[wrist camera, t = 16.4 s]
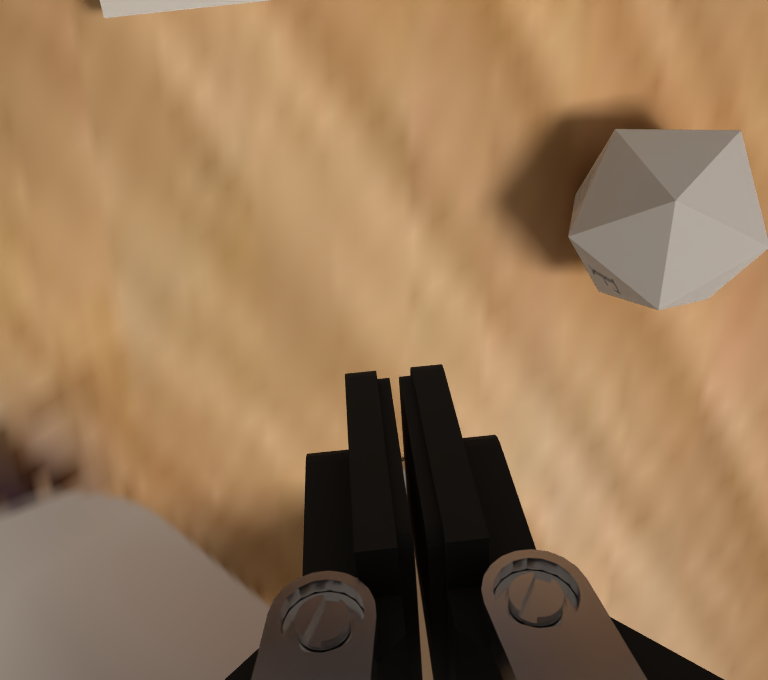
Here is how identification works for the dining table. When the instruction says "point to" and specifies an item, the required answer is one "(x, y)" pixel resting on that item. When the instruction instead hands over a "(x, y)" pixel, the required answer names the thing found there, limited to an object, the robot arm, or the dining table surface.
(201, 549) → the dining table surface
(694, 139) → the die
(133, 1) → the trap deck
